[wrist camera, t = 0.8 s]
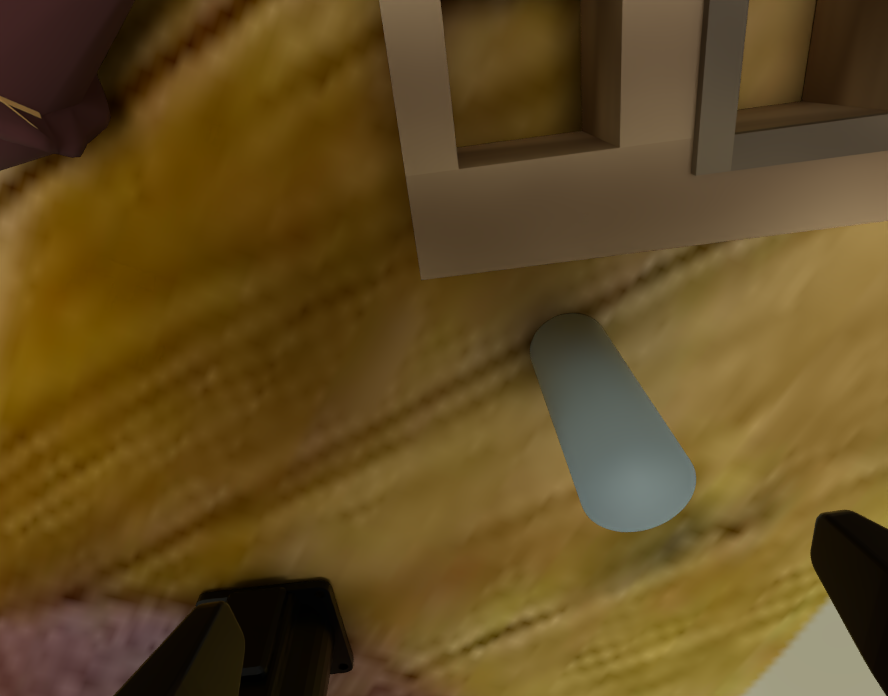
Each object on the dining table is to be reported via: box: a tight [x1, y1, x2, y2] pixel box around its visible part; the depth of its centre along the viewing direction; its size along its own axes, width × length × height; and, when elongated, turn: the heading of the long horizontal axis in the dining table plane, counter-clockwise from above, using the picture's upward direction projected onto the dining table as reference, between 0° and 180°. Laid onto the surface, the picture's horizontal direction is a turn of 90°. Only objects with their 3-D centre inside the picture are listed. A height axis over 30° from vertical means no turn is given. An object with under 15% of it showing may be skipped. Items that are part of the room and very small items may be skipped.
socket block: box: [379, 0, 888, 280], centre depth 15 cm, size 10×14×4 cm
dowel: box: [530, 313, 696, 532], centre depth 18 cm, size 3×3×8 cm
